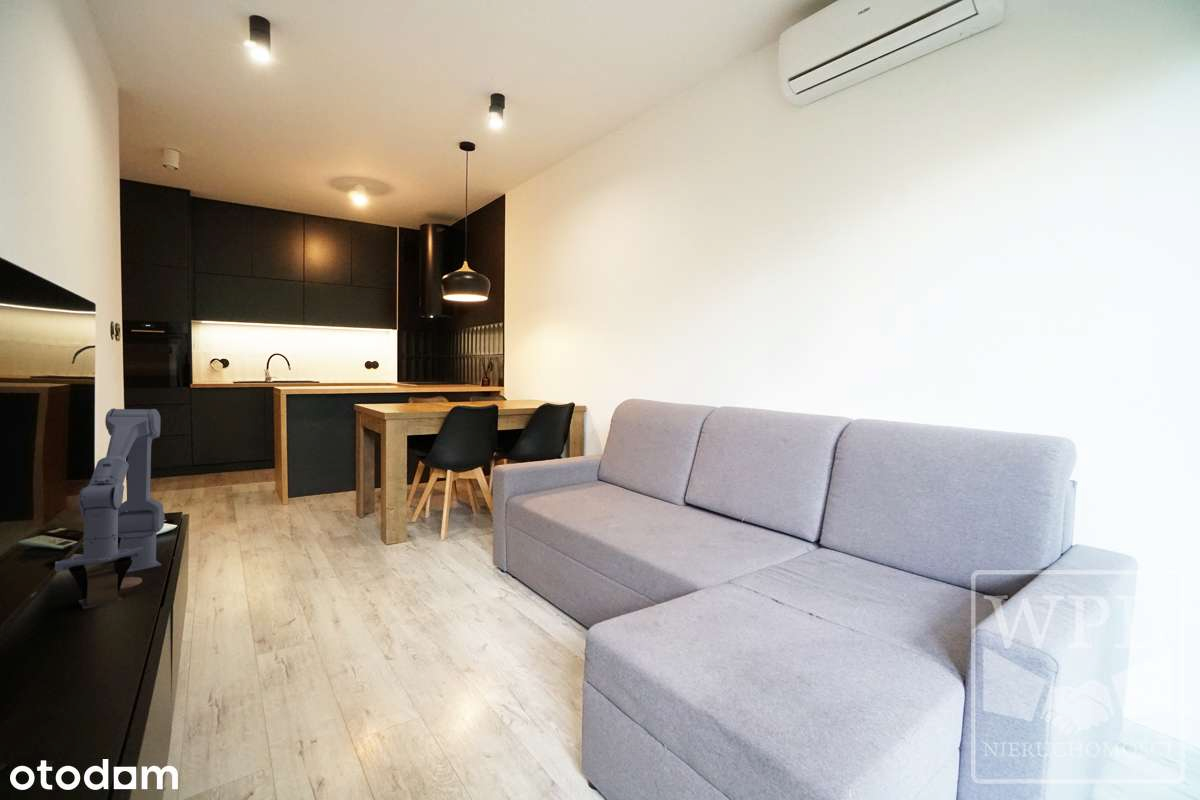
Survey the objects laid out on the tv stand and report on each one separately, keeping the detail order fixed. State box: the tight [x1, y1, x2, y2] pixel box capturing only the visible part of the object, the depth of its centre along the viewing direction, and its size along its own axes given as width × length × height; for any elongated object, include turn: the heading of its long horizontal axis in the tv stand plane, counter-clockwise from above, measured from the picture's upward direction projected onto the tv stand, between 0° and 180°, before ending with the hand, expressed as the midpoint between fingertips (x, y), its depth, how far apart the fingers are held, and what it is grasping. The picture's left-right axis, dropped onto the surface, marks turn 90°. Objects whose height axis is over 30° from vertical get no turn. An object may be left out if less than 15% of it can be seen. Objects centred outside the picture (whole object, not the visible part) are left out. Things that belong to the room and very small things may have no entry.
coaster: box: [120, 576, 143, 591], centre depth 129 cm, size 8×8×1 cm
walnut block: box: [82, 568, 119, 606], centre depth 120 cm, size 5×5×6 cm
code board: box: [78, 594, 123, 610], centre depth 120 cm, size 8×8×1 cm
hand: (100, 594), depth 120 cm, fingers closed on walnut block, 5 cm apart
